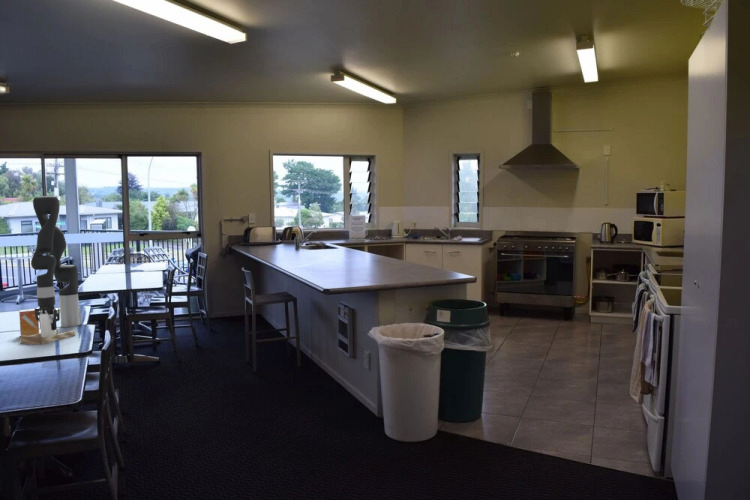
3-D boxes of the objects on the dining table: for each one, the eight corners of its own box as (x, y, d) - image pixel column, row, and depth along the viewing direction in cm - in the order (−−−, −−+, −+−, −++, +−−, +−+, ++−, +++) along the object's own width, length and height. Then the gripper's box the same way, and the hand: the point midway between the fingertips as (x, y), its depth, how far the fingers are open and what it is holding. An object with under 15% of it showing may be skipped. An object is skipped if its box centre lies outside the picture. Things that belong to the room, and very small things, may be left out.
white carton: (40, 338, 284) (39, 314, 283) (41, 336, 290) (40, 312, 289) (56, 337, 287) (54, 312, 286) (56, 334, 293) (54, 310, 292)
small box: (21, 337, 293) (19, 311, 292) (20, 335, 299) (18, 310, 298) (39, 335, 298) (38, 309, 297) (38, 333, 303) (37, 308, 302)
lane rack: (55, 334, 299) (55, 327, 299) (74, 335, 295) (74, 328, 295) (20, 343, 280) (20, 336, 280) (40, 344, 276) (39, 337, 276)
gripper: (63, 295, 288) (65, 328, 289) (41, 294, 293) (44, 327, 294) (50, 297, 281) (52, 332, 282) (28, 296, 286) (30, 330, 287)
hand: (48, 329), depth 288 cm, fingers closed on white carton, 6 cm apart
